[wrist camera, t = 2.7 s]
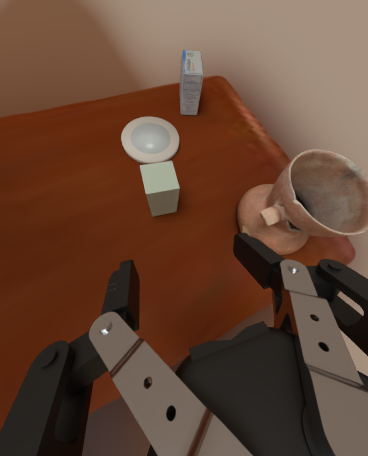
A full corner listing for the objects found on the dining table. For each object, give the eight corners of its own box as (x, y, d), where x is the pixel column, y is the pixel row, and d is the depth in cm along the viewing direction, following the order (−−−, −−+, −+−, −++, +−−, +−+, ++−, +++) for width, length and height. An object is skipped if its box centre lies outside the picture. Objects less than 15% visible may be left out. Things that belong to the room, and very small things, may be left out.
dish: (127, 169, 32) (126, 165, 31) (119, 124, 35) (117, 119, 34) (184, 160, 34) (185, 156, 33) (171, 119, 38) (171, 114, 36)
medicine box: (196, 116, 39) (204, 74, 30) (180, 115, 38) (183, 72, 30) (194, 95, 41) (201, 50, 33) (179, 94, 40) (181, 48, 32)
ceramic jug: (246, 270, 28) (320, 269, 15) (215, 205, 32) (252, 156, 18) (313, 238, 32) (421, 215, 19) (280, 183, 35) (351, 129, 22)
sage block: (152, 216, 30) (146, 194, 21) (147, 194, 31) (139, 165, 22) (176, 211, 30) (179, 188, 22) (170, 190, 32) (171, 160, 23)
